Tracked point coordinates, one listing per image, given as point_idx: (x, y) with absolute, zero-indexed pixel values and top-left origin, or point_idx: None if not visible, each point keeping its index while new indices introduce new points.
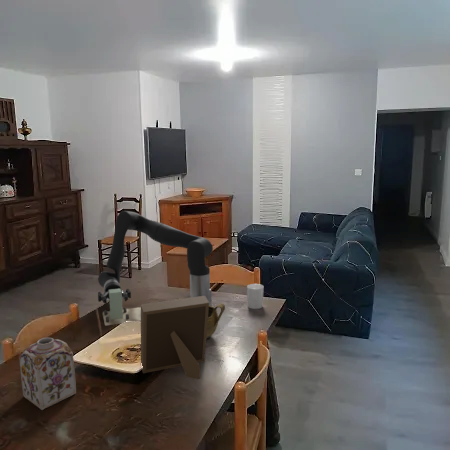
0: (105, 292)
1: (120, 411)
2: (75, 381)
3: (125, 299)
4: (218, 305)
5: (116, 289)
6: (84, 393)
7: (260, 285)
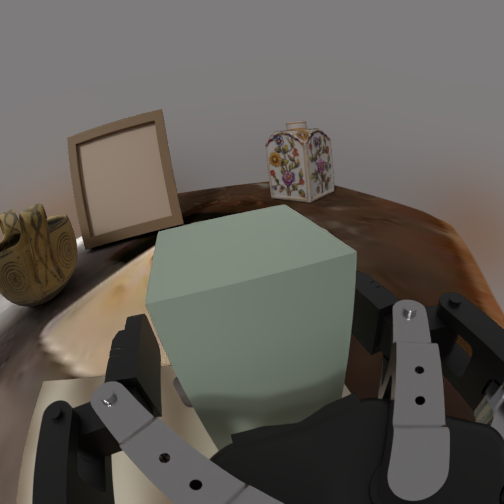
0: (483, 429)
1: (215, 197)
2: (269, 182)
3: (149, 333)
4: (9, 210)
5: (218, 267)
6: (261, 200)
7: None
